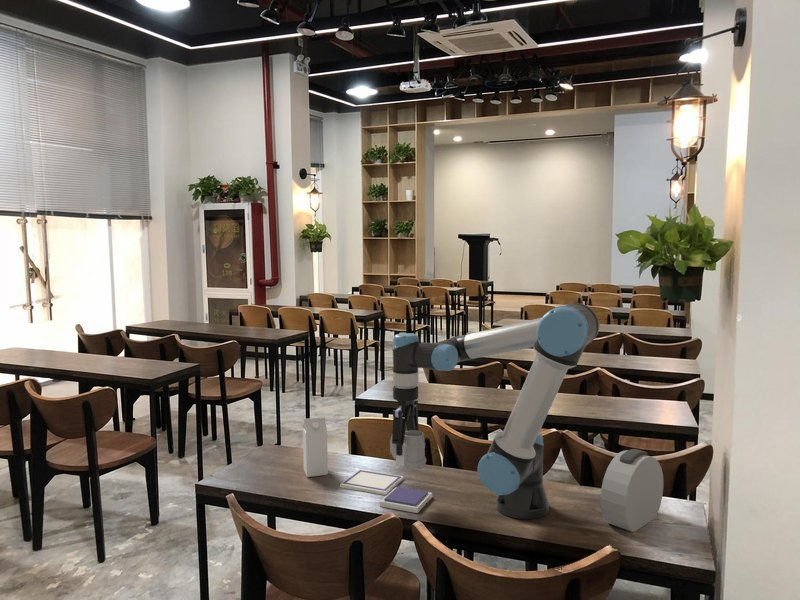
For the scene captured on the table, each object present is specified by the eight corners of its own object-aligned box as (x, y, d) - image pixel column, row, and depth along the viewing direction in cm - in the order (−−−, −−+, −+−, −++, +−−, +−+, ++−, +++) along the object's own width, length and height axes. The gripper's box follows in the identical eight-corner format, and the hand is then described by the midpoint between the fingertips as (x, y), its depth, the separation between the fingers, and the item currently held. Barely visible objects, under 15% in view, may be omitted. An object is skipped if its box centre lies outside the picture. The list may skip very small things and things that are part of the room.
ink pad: (432, 497, 187) (432, 490, 187) (417, 513, 176) (417, 506, 176) (396, 491, 192) (396, 484, 192) (379, 506, 181) (379, 499, 181)
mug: (419, 472, 177) (419, 431, 176) (383, 465, 183) (383, 426, 182) (430, 463, 184) (430, 424, 183) (396, 457, 190) (396, 419, 188)
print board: (403, 479, 202) (403, 475, 202) (385, 495, 189) (385, 491, 189) (360, 472, 209) (360, 468, 208) (340, 487, 196) (339, 483, 196)
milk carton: (303, 470, 211) (302, 416, 209) (324, 467, 213) (323, 414, 211) (306, 477, 204) (305, 422, 203) (327, 475, 206) (326, 420, 205)
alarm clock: (638, 505, 181) (639, 439, 179) (662, 513, 175) (665, 446, 173) (599, 527, 167) (601, 456, 165) (625, 537, 161) (627, 464, 159)
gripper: (407, 377, 192) (407, 448, 194) (379, 392, 173) (380, 470, 176) (429, 379, 189) (429, 451, 191) (403, 394, 170) (404, 474, 173)
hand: (405, 460), depth 183 cm, fingers closed on mug, 7 cm apart
